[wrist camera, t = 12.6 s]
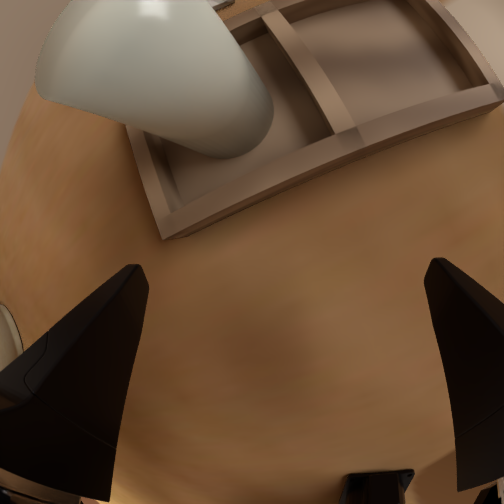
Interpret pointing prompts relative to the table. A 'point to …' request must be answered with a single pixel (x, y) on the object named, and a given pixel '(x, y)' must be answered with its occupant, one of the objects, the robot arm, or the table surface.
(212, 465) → the table surface
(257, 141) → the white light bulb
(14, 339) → the planter bowl
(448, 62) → the divided tray
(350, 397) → the table surface
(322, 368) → the table surface
